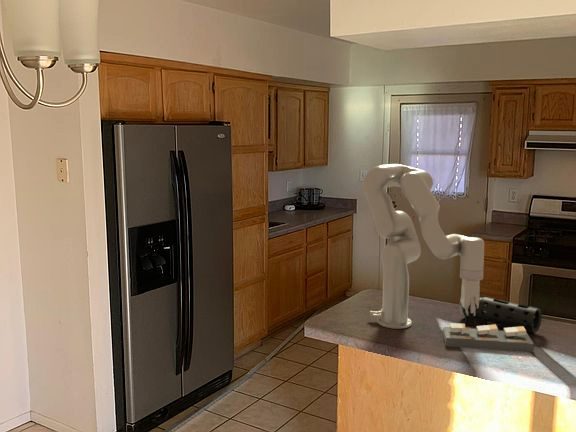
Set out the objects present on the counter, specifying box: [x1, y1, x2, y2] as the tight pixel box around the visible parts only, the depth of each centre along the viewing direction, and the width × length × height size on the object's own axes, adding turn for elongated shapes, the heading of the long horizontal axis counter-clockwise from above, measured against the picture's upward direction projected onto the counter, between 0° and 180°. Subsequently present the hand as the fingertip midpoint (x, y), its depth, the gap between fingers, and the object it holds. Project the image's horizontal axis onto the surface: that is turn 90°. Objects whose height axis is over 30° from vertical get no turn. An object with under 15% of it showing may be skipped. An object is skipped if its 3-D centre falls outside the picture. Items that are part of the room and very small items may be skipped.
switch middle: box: [475, 323, 499, 334], centre depth 196 cm, size 6×5×2 cm
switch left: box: [449, 322, 472, 332], centre depth 198 cm, size 6×5×2 cm
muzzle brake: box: [458, 294, 543, 336], centre depth 213 cm, size 10×28×10 cm, turn 47°
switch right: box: [503, 326, 527, 336], centre depth 194 cm, size 6×5×2 cm
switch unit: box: [442, 326, 535, 354], centre depth 196 cm, size 28×11×4 cm, turn 80°
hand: (469, 325), depth 197 cm, fingers closed
